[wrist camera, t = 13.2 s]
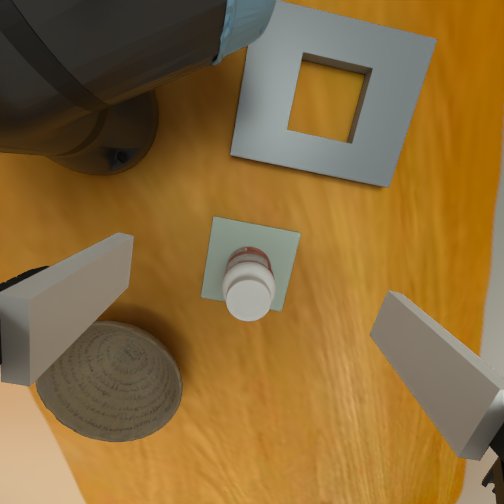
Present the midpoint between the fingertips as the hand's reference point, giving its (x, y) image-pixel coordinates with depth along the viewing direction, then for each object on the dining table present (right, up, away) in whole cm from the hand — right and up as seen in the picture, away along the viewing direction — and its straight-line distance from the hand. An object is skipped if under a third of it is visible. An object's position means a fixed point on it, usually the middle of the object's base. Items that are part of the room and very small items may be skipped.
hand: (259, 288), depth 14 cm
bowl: (-19, -13, +29) cm, 37 cm away
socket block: (+8, +20, +19) cm, 29 cm away
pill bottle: (-1, 0, +25) cm, 25 cm away
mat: (-1, 0, +25) cm, 25 cm away
